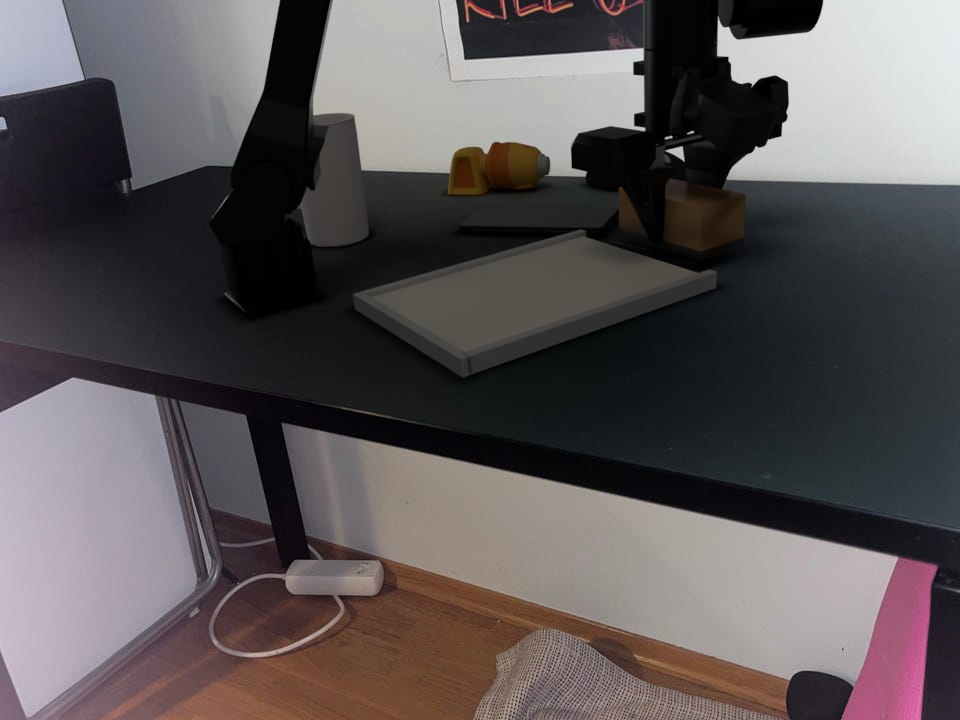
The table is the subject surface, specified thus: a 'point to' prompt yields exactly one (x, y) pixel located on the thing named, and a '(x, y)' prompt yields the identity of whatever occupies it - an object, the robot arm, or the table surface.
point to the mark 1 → (633, 248)
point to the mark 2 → (676, 260)
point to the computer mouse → (613, 183)
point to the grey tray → (525, 299)
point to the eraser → (691, 220)
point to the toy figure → (496, 168)
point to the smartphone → (540, 220)
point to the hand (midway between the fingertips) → (678, 236)
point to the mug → (337, 187)
